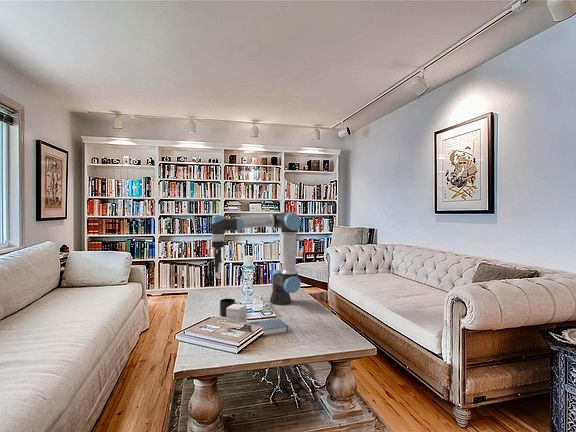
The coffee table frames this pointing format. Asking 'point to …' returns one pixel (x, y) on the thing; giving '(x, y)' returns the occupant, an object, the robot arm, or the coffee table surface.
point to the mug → (225, 305)
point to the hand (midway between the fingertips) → (217, 275)
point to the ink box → (236, 313)
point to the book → (272, 326)
